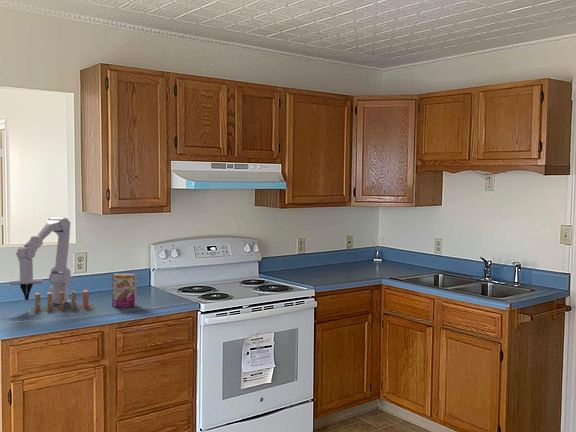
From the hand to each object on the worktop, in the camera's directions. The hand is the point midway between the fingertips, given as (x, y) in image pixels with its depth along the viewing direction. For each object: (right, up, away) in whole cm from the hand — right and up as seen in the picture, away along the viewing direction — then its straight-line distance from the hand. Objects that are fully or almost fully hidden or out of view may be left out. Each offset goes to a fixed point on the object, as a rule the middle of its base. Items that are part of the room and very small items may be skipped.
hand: (26, 299), depth 281 cm
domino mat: (+15, -6, +6) cm, 17 cm away
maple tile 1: (+4, -5, +2) cm, 7 cm away
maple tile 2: (+10, -5, +4) cm, 12 cm away
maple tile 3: (+15, -5, +6) cm, 17 cm away
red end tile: (+25, -5, +10) cm, 27 cm away
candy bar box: (+43, -6, +13) cm, 46 cm away
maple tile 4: (+20, -5, +8) cm, 22 cm away
